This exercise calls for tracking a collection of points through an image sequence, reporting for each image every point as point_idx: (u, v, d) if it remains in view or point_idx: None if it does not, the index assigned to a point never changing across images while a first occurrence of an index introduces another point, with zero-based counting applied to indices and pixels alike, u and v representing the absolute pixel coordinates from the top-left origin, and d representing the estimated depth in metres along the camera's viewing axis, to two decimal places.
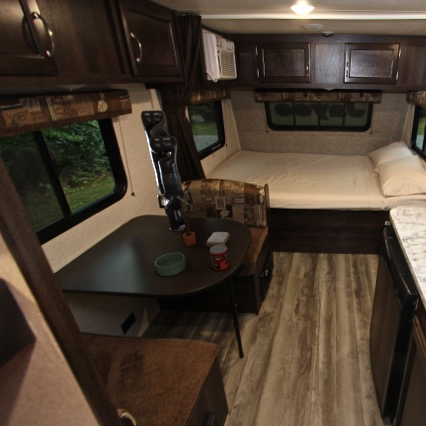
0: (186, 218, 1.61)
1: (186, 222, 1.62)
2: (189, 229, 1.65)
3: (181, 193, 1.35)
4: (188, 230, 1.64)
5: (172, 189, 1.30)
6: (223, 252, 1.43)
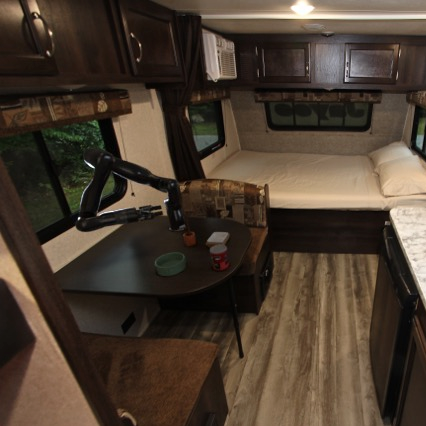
0: (186, 218, 1.61)
1: (186, 222, 1.62)
2: (189, 229, 1.65)
3: None
4: (188, 230, 1.64)
5: None
6: (223, 252, 1.43)
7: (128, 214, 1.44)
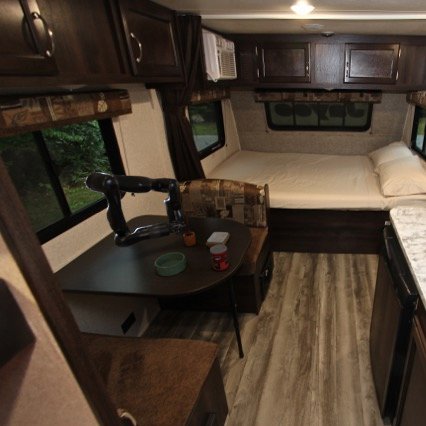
0: (186, 218, 1.61)
1: (186, 222, 1.62)
2: (189, 229, 1.65)
3: None
4: (188, 230, 1.64)
5: None
6: (223, 252, 1.43)
7: (161, 229, 1.55)
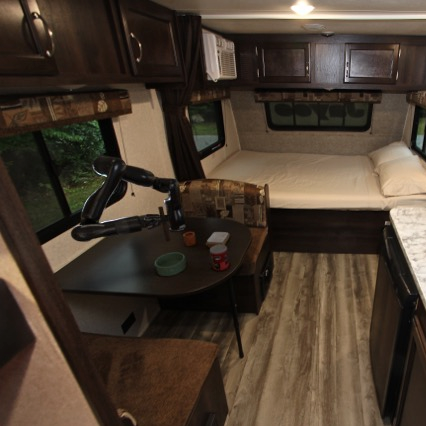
0: (162, 211, 1.36)
1: (162, 215, 1.37)
2: (166, 224, 1.40)
3: None
4: (164, 225, 1.40)
5: None
6: (223, 252, 1.43)
7: (130, 223, 1.30)
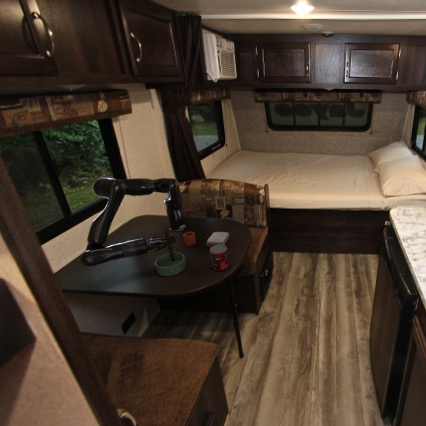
0: (167, 233, 1.40)
1: (167, 237, 1.41)
2: (171, 245, 1.44)
3: None
4: (170, 246, 1.43)
5: None
6: (223, 252, 1.43)
7: (137, 246, 1.33)
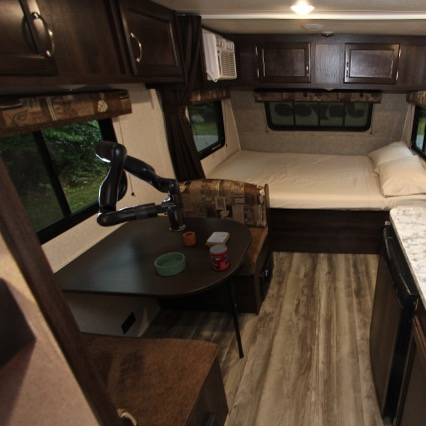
0: (176, 198, 1.50)
1: (176, 203, 1.50)
2: (179, 211, 1.53)
3: None
4: (178, 212, 1.53)
5: None
6: (223, 252, 1.43)
7: (148, 209, 1.43)
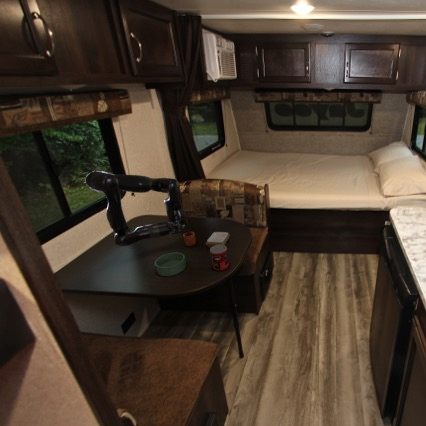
0: (186, 218, 1.61)
1: (186, 222, 1.62)
2: (189, 229, 1.65)
3: None
4: (188, 230, 1.64)
5: None
6: (223, 252, 1.43)
7: (160, 228, 1.54)
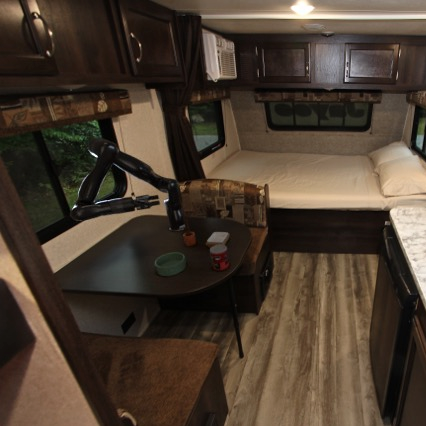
0: (186, 218, 1.61)
1: (186, 222, 1.62)
2: (189, 229, 1.65)
3: None
4: (188, 230, 1.64)
5: None
6: (223, 252, 1.43)
7: (124, 203, 1.41)
